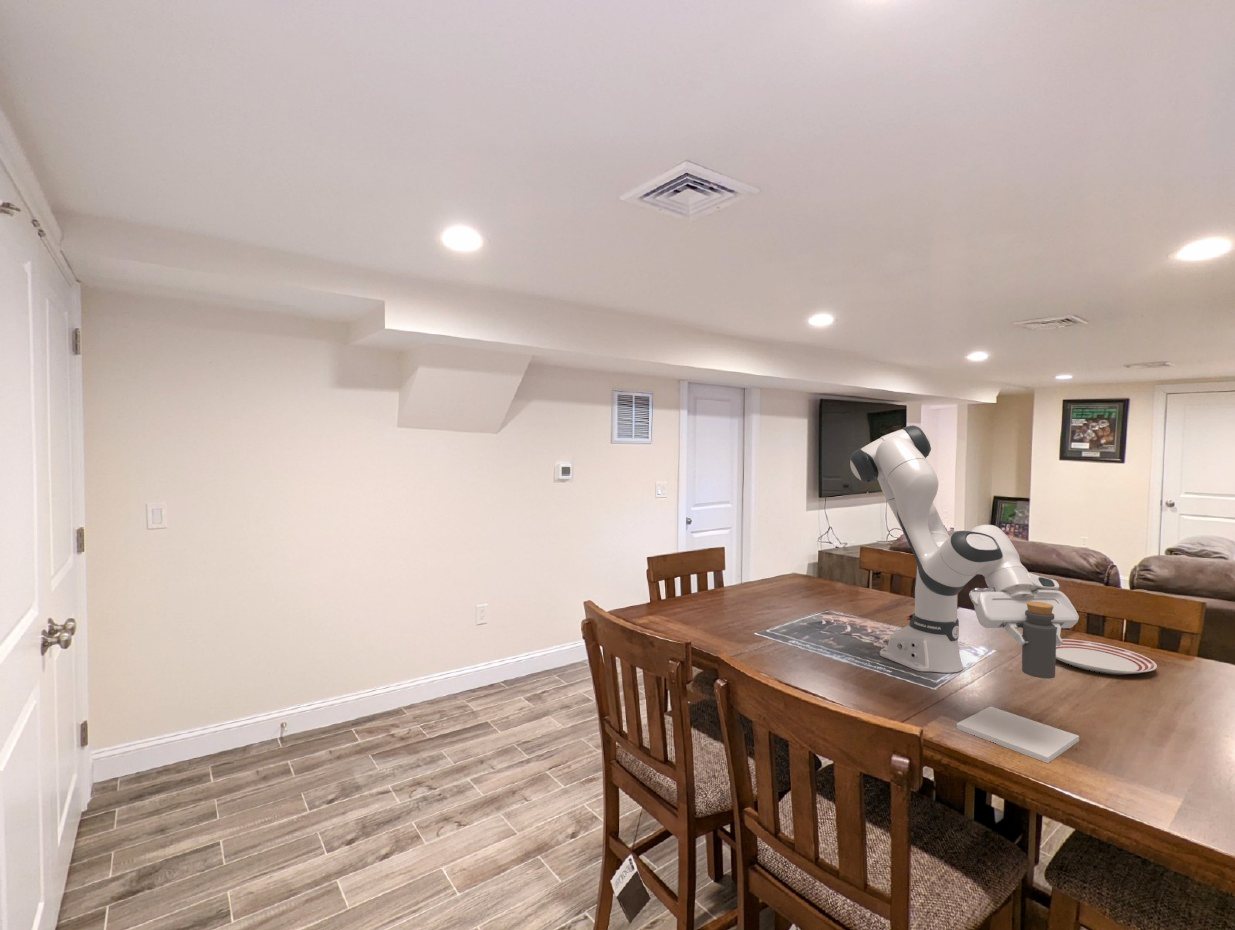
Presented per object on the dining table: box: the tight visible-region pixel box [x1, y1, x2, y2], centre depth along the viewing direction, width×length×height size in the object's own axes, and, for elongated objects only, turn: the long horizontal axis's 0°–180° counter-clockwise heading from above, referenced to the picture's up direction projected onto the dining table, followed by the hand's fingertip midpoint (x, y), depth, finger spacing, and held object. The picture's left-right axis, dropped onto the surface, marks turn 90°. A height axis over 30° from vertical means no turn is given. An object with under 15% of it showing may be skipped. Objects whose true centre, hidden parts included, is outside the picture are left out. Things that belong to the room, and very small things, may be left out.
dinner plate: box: [1056, 638, 1158, 675], centre depth 176 cm, size 28×27×3 cm
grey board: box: [956, 706, 1080, 764], centre depth 133 cm, size 18×16×1 cm
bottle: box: [1021, 602, 1057, 680], centre depth 127 cm, size 6×6×15 cm
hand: (1041, 644), depth 126 cm, fingers closed on bottle, 6 cm apart
